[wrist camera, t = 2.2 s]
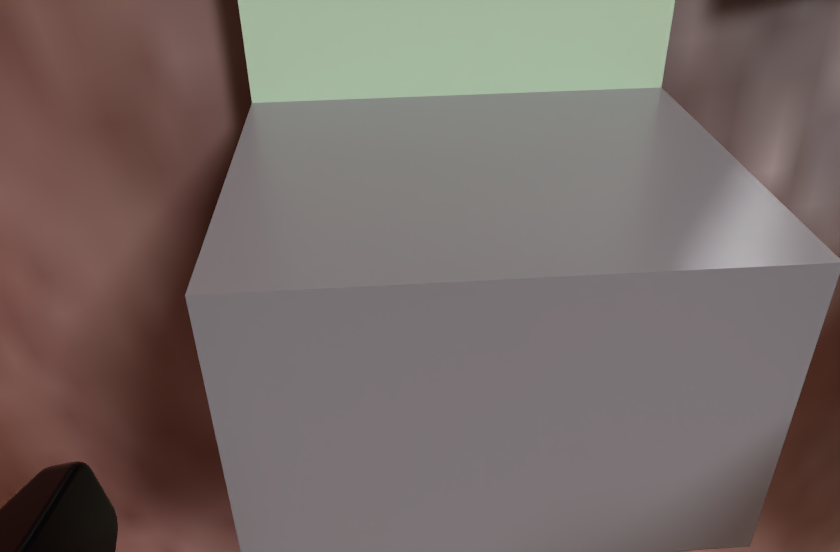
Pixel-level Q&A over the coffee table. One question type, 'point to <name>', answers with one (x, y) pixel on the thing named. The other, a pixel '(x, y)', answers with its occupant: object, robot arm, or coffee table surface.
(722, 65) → the coffee table surface
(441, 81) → the grey block
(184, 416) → the coffee table surface
